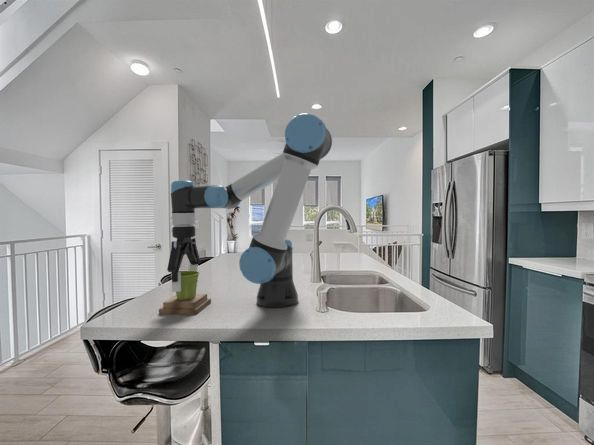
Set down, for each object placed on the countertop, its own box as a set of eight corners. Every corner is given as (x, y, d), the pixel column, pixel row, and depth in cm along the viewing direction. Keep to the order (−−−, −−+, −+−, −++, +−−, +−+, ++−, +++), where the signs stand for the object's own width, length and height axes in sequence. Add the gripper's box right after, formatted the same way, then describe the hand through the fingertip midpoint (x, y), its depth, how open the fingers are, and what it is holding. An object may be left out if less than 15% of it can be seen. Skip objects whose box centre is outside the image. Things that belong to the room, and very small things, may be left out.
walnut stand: (211, 302, 117) (210, 293, 116) (196, 314, 104) (196, 303, 104) (177, 302, 118) (176, 293, 118) (158, 313, 105) (158, 303, 105)
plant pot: (191, 302, 105) (190, 276, 105) (166, 301, 107) (165, 275, 107) (205, 295, 114) (204, 271, 114) (181, 294, 116) (180, 270, 116)
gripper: (188, 224, 123) (190, 279, 123) (154, 227, 98) (156, 295, 98) (207, 224, 122) (209, 278, 123) (177, 227, 97) (179, 296, 98)
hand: (185, 286), depth 110 cm, fingers open, 13 cm apart
